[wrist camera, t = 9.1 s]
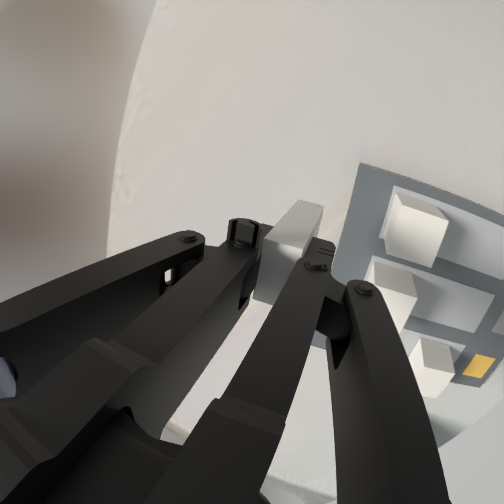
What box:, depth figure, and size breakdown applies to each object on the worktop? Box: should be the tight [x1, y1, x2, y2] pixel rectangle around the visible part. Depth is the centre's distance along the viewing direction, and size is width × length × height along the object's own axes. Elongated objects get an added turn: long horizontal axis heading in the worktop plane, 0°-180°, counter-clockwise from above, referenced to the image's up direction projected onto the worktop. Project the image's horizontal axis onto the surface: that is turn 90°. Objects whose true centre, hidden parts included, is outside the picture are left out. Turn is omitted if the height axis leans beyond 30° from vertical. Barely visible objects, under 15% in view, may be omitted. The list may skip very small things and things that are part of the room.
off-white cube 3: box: [408, 338, 455, 398], centre depth 23 cm, size 4×4×4 cm
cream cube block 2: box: [367, 262, 418, 334], centre depth 22 cm, size 4×4×4 cm
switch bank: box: [311, 163, 504, 388], centre depth 23 cm, size 18×22×1 cm
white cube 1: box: [383, 192, 449, 268], centre depth 19 cm, size 4×4×4 cm
